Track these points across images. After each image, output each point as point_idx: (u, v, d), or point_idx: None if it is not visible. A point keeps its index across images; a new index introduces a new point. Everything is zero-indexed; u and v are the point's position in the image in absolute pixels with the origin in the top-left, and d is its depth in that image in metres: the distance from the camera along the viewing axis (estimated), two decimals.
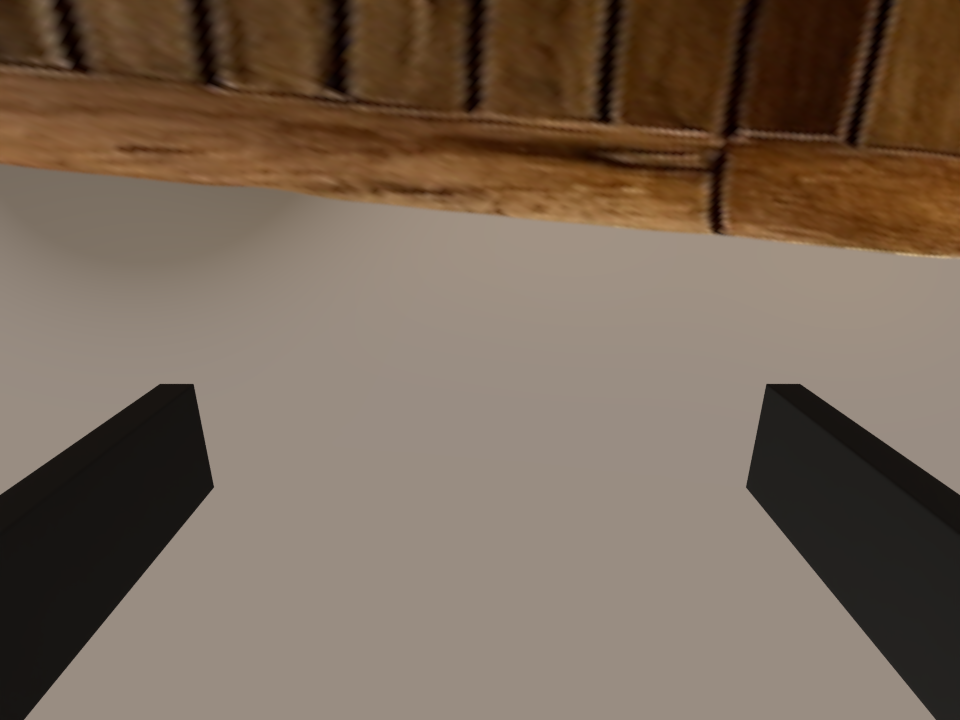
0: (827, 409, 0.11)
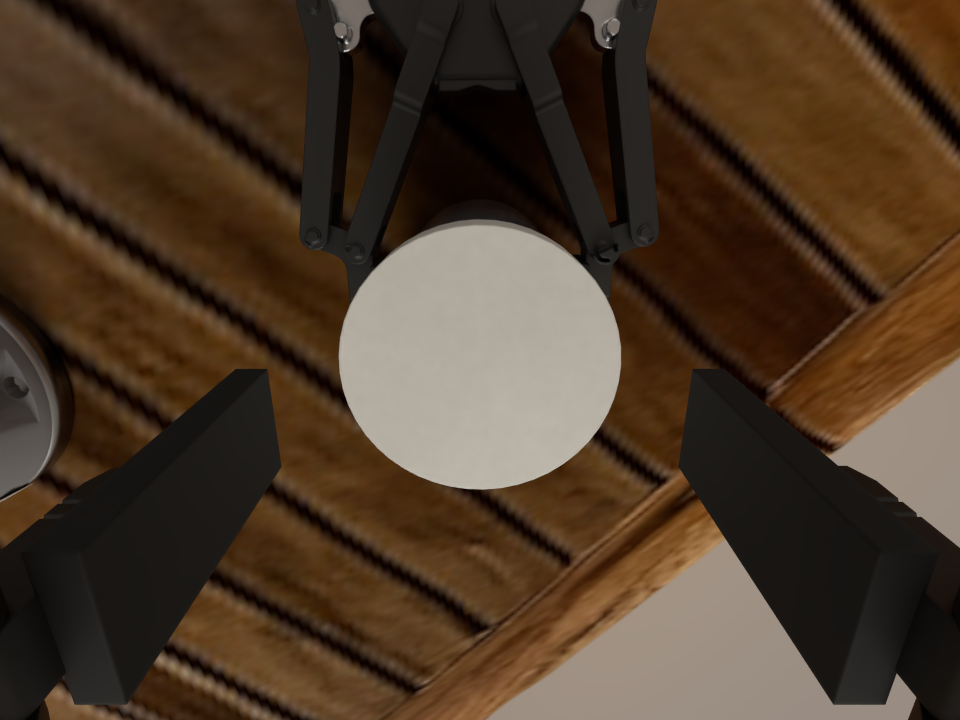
0: (741, 390, 0.12)
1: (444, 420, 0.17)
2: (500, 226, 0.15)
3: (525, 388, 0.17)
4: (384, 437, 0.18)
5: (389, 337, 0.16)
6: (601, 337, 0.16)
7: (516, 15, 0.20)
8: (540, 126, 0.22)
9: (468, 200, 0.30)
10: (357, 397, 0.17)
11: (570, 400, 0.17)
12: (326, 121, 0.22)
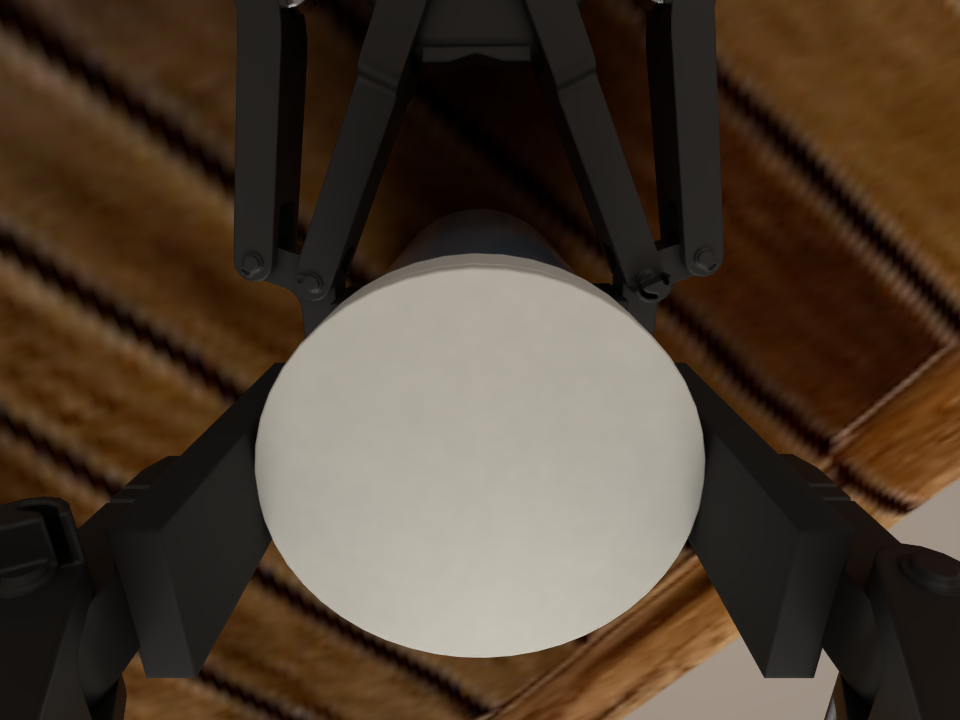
0: (697, 383, 0.12)
1: (424, 564, 0.11)
2: (514, 270, 0.09)
3: (551, 518, 0.11)
4: (332, 587, 0.11)
5: (334, 444, 0.10)
6: (675, 444, 0.10)
7: None
8: (564, 112, 0.16)
9: (465, 210, 0.23)
10: (287, 531, 0.11)
11: (621, 536, 0.11)
12: (264, 105, 0.16)
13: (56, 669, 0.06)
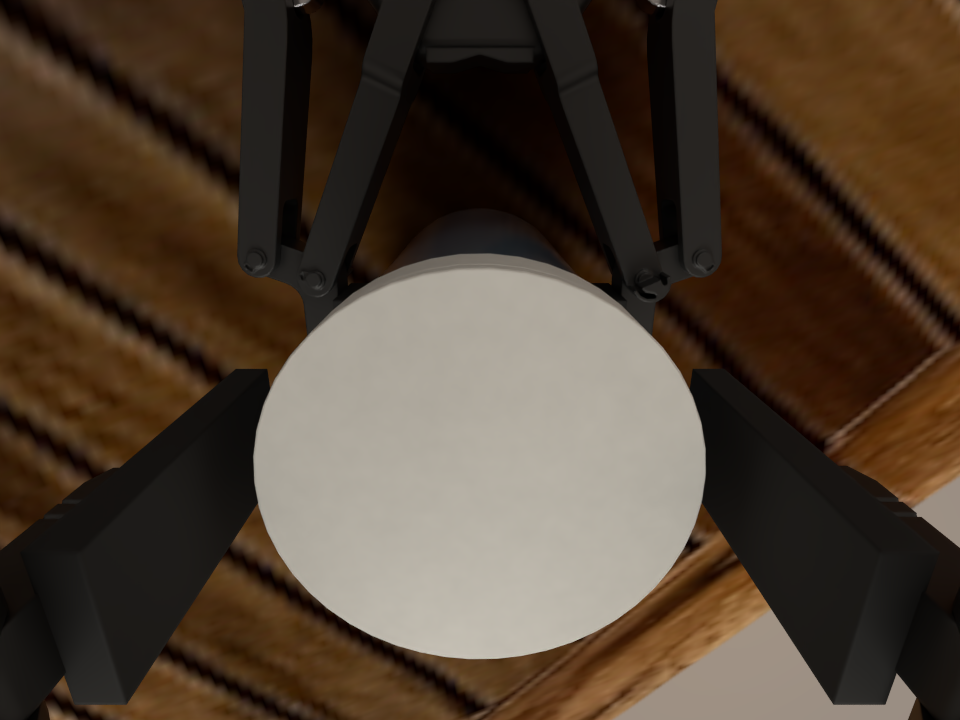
0: (741, 390, 0.12)
1: (553, 553, 0.11)
2: (258, 423, 0.10)
3: (529, 433, 0.10)
4: (557, 630, 0.12)
5: (405, 592, 0.11)
6: (465, 299, 0.09)
7: None
8: (565, 113, 0.16)
9: (466, 209, 0.24)
10: (486, 647, 0.12)
11: (571, 367, 0.10)
12: (270, 103, 0.16)
13: None
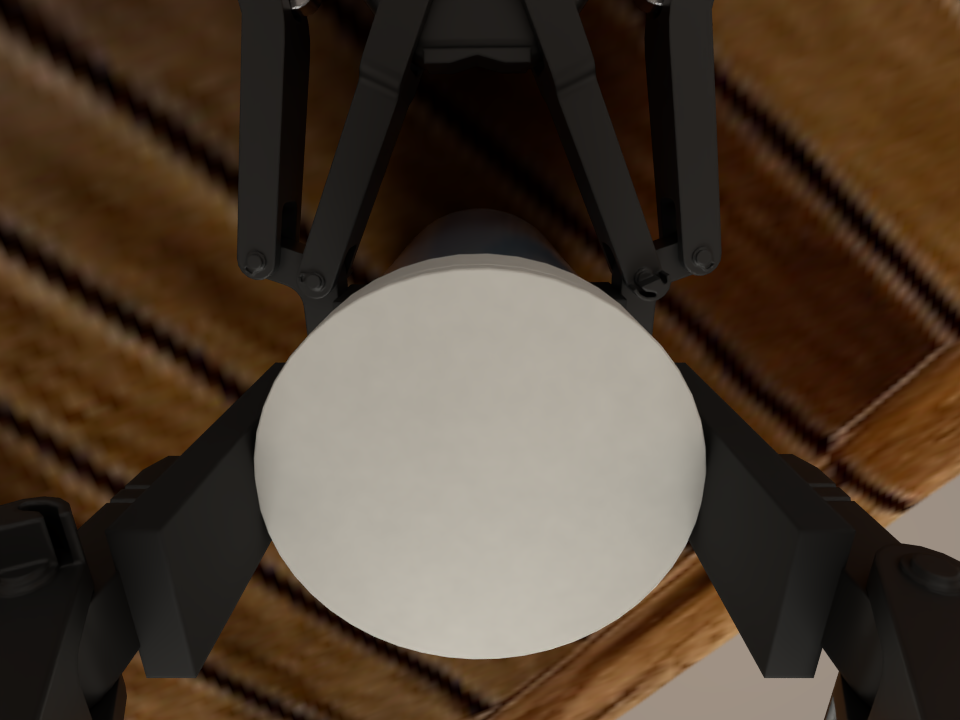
0: (697, 383, 0.12)
1: (554, 553, 0.11)
2: (258, 426, 0.10)
3: (529, 433, 0.10)
4: (559, 630, 0.12)
5: (406, 593, 0.11)
6: (463, 300, 0.09)
7: None
8: (563, 112, 0.16)
9: None
10: (488, 647, 0.12)
11: (570, 367, 0.10)
12: (268, 105, 0.16)
13: (56, 669, 0.06)
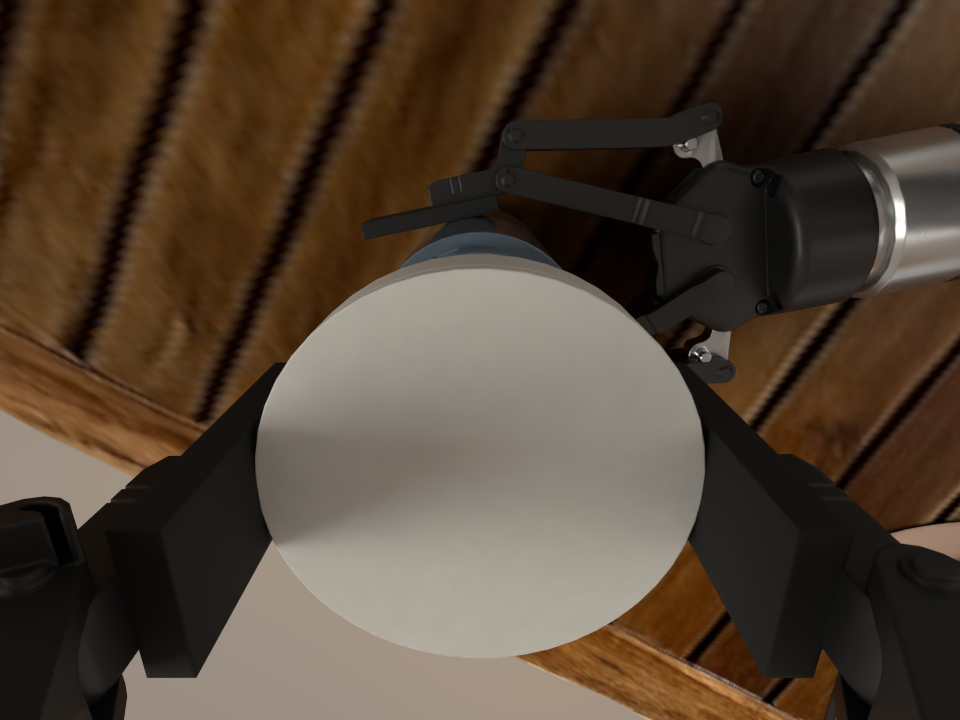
0: (697, 383, 0.12)
1: (554, 552, 0.11)
2: (259, 425, 0.10)
3: (529, 433, 0.10)
4: (559, 629, 0.12)
5: (406, 592, 0.11)
6: (463, 300, 0.09)
7: (713, 289, 0.26)
8: None
9: None
10: (488, 646, 0.12)
11: (570, 367, 0.10)
12: (619, 138, 0.24)
13: (56, 669, 0.06)
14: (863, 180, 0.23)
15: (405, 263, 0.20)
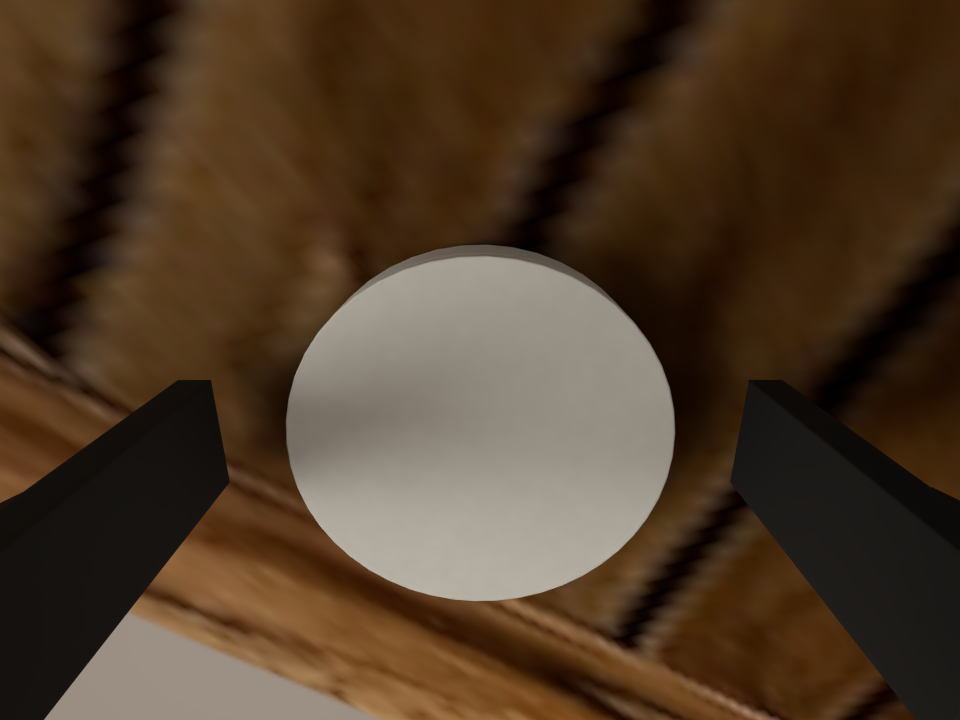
0: (807, 404, 0.11)
1: (544, 505, 0.13)
2: (290, 392, 0.12)
3: (522, 398, 0.12)
4: (550, 574, 0.13)
5: (416, 540, 0.13)
6: (465, 283, 0.11)
7: None
8: None
9: None
10: (488, 589, 0.14)
11: (557, 341, 0.11)
12: None
13: None
14: None
15: None
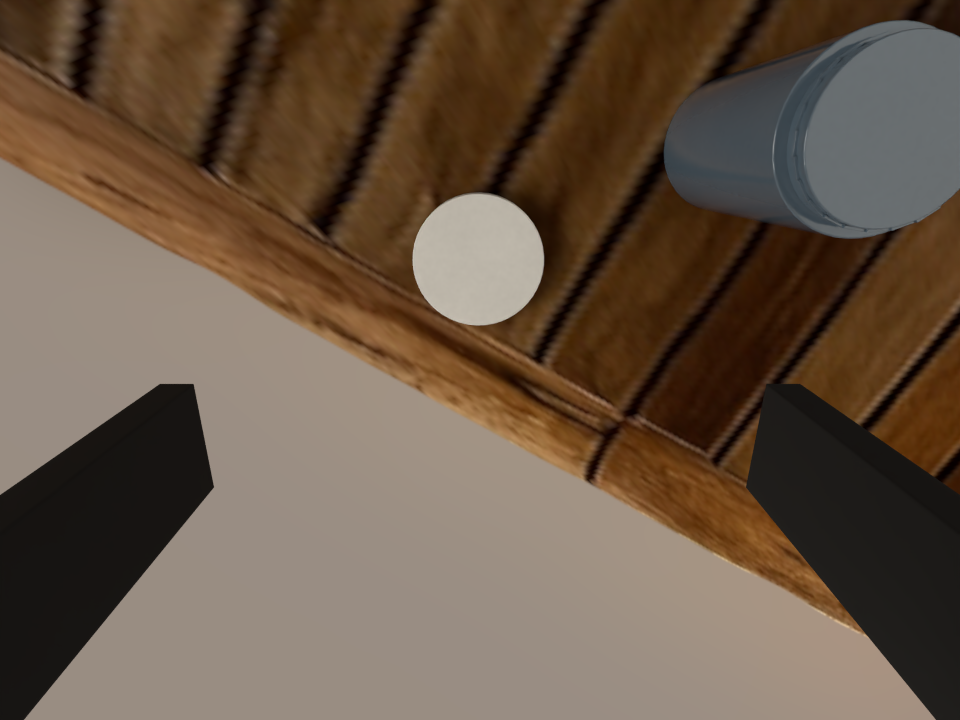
0: (827, 409, 0.11)
1: (500, 283, 0.36)
2: None
3: (492, 242, 0.35)
4: (503, 313, 0.37)
5: (455, 298, 0.37)
6: (473, 202, 0.35)
7: None
8: None
9: None
10: (481, 320, 0.37)
11: (503, 222, 0.35)
12: None
13: None
14: None
15: (822, 53, 0.21)
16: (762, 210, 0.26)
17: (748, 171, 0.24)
